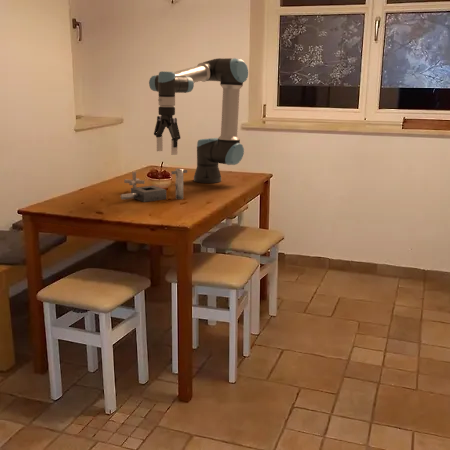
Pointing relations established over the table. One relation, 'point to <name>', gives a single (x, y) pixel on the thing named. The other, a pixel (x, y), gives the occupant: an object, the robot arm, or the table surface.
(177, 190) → the chuck key
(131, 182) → the pipe connector
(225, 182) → the table surface
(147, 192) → the block
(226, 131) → the robot arm
